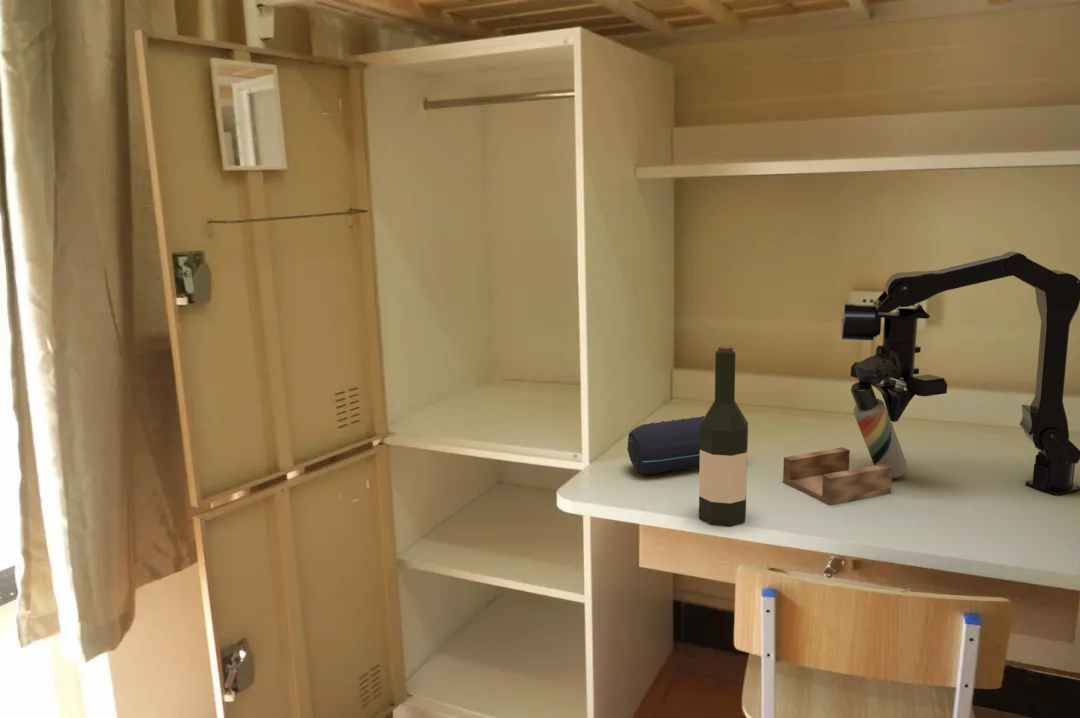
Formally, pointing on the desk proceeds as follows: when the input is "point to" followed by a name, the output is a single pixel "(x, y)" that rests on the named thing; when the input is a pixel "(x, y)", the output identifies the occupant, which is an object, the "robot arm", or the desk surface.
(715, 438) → the wine bottle
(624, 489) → the desk surface
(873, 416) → the lotion bottle
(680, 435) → the portable speaker
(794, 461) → the cradle
